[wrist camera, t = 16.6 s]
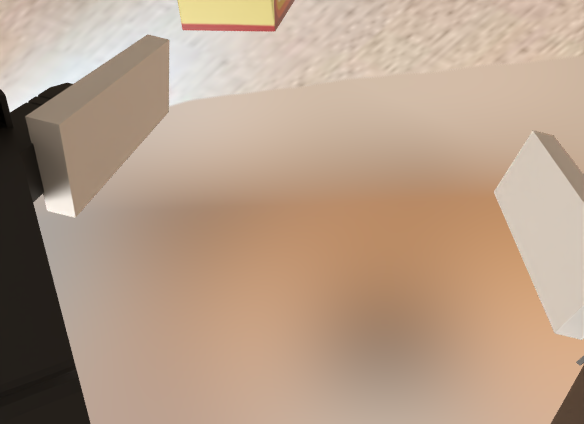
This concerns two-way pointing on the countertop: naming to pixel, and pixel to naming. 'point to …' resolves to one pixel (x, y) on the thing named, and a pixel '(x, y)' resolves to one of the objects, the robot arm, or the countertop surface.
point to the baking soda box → (233, 14)
